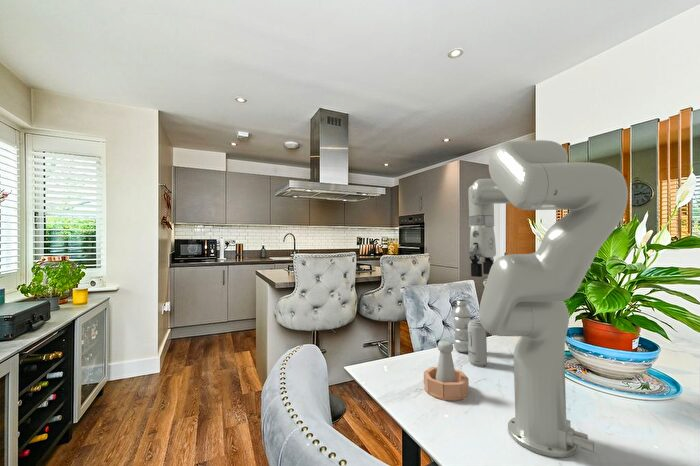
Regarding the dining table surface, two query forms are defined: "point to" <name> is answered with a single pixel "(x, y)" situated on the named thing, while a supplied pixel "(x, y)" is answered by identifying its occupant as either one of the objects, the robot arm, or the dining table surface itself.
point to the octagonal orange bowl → (446, 386)
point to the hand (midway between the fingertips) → (482, 275)
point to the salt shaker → (445, 363)
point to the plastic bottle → (461, 326)
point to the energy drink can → (477, 343)
